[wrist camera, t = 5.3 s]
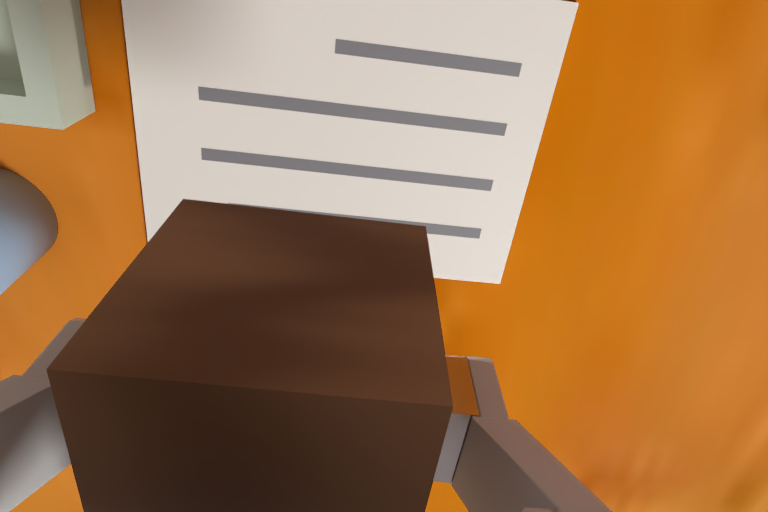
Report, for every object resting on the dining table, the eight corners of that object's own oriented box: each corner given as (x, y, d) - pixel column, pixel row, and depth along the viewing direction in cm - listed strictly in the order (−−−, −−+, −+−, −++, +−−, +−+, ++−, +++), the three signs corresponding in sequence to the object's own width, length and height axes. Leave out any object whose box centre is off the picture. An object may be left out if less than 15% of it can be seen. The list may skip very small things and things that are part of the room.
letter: (577, 2, 19) (578, 3, 19) (499, 282, 25) (500, 283, 25) (116, -64, 17) (113, -64, 17) (150, 249, 23) (148, 251, 23)
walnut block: (426, 226, 11) (453, 406, 7) (393, 398, 13) (398, 609, 9) (182, 198, 11) (46, 369, 6) (196, 379, 13) (105, 590, 9)
